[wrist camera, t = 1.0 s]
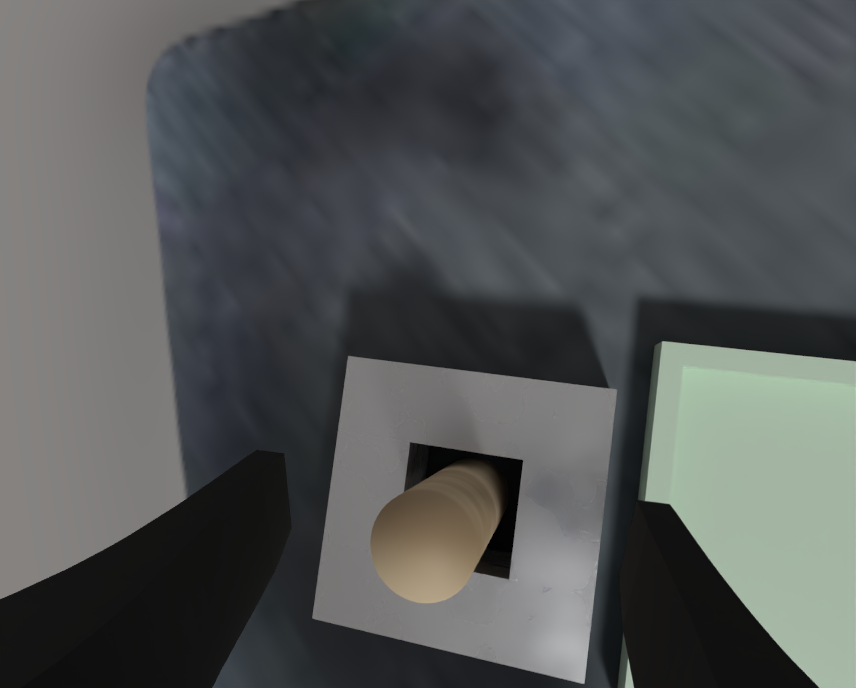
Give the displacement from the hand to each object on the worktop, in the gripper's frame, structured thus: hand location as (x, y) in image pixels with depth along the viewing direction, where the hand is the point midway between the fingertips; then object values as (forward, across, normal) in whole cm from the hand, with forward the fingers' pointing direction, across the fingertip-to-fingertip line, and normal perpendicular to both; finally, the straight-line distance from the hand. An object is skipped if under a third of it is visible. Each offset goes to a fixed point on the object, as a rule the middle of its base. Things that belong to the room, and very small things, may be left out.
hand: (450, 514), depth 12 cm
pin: (+10, 0, +8) cm, 13 cm away
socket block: (+10, 0, +8) cm, 13 cm away
